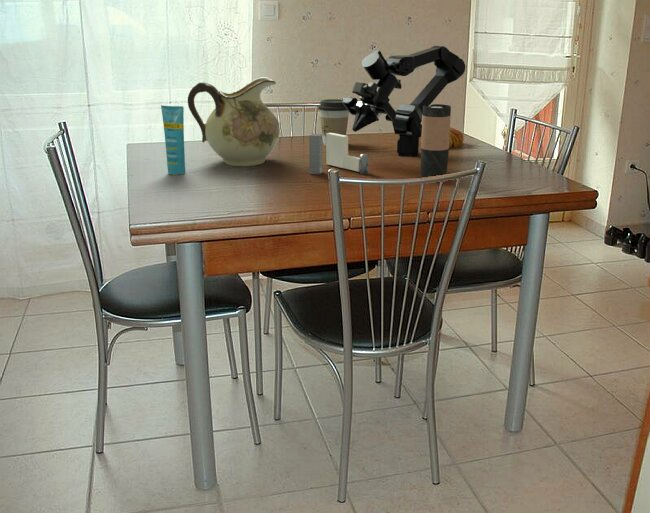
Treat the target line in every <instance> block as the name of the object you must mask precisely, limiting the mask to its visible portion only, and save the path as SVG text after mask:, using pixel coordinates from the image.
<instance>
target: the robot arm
mask: <svg viewBox="0 0 650 513" xmlns="http://www.w3.org/2000/svg"><path fill="white" fill-rule="evenodd" d="M431 63H433V65H434V66H435V67H436V68H435V75H434V76H433V77H432V78H431V80H430V81H429V82H428V83H427V84H426V86H424V88H422V90H421V91H420V92H419V93H418V94H417V96H416V97H415V98H414V99H413V101H412V102H411V103H410V104H407V103H401V104H400V105H399V107H398V108H397V109H396V110H395V109H394V108H393V105H392V104H391V103H390V100H391V99H390V96H391V94H392V92H393V91H394V89H399V90H401V89H402V87H403V86H402V83H401V82H402V80H401V79H398V78H397V77H396V76H399V77H407V76H409V75H410V74H412V73H413V72H414V71H415V70H416V69H417V68H418V67H422V66H425V65H427V64H431ZM361 66H362V68H363V69H364V71H365V72H366V73H367V75H368V76H369V77H370V78H371V80H376V81H375V82H371V81H370V82H369V83H365V82H360V81H355V82H354V85H353V87H352V91H351V93H352V94H356V95H358V96H359V98H356V97H352V96H346V97H344V98H343V99H342V100H343V102H342V103H343V105H344V106H345V107H346V109H347V110H348V111H349V115H352V116H354V121H353V124H352V131H353V132H358V131H360V130H362V129H364V128H365V127H367V126H369V125H370V124H373V123H375V122H378V121H379V120H380V118H379V117H380V116H382V115H384V114H385V116H384V117H385V120H386V122H391V123H392V124H391V125H392V128H393V131H394V135H398V138H397V139H396V153H397V155H398V156H400V157H401V156H405V157H406V156H408V157H410V156H412V157H414V156H416V157H418V156H419V155H420V153H419V150H420V146H419V145H420V144H419V143H420V138H421V135H422V117H423V106H424V105H425V106H426V107H429V106H431V105H432V103H433V102H434V101H435V100H436V98H438V96H439V95H440V94H441V92H442V91H443V90H444V89H445V88H446V87H447V86H448V85H449V84H450V83H453V82H455V81H457V80H458V79H460V78H461V77H462V76H463V75H464V73H465V72H466V63H465V61H464V60H463V59H462V58H461V57H459V56H458V55H457V54H455V53H453V52H451V51H450V50H449V49H448V48H447V47H446V46H444V45H433V46H431V47H428V48H426V49H423V50H420V51H416V52H413V53H411V54H403V55H402V54H401V55H400V54H399V55H398V54H397V55H390V56H389V57H387V59H385V57H384V56H383V53H382V51H381V50H374V51H373V52H372V53H369V54H368V55H366V56H364V58H363V59H362V61H361ZM358 99H359V100H360V101H359V100H358Z"/></svg>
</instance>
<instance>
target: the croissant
mask: <svg viewBox="0 0 650 513" xmlns="http://www.w3.org/2000/svg"><path fill="white" fill-rule="evenodd" d="M463 141H464V134H463V133H462V132H461V131H460V130H458V129H456V128H453V127H451V126H450V138H449V149H457V148H460V147H461V146H462V145H463V143H464V142H463Z"/></svg>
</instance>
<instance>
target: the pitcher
mask: <svg viewBox="0 0 650 513" xmlns="http://www.w3.org/2000/svg"><path fill="white" fill-rule="evenodd" d="M276 84H277V83H276V81H275V80H274V79H272V78H270V77H267V76H262V77H258V78H255V79H253V80H251V82H249V83H247V84H246V85H245V86H243V87H242V88H239V89H238V90H236V91H234V92H231V93H227V92H223V91H222V90H218V88H216V87H215V86H214V85H213V84H210V83H207V82H205V81H199V82H198V83H197V84H195V85H194V86H193V87H192V88H191V89H190V91H189V93H188V95H187V106H188V109H189V112H190V113H191V115H192V116H193V118H194V119H195V121H196V123H197V124H198V127H199V128H200V132H201V135H202V138H201V139H202V140H201V142H202V143H205V142H208V145H209V147H211V150H213V152H214V153H215V154H217V155H218V156H219V157H220V158H221V159H222V160H223V163H224V164H225V165H228V166H232V167H254V166H260V165H262V164H265V161H266V158H267V157H268V155H270V153H272V151H273V150H274V149H275V147H276V145H277V143H278V142H279V139H280V134H281V128H280V122H279V120H278V118H277V117H276V115H275V113H273V111H272V110H271V109H270V108H269V107H268V106H267V105H266V104H265V103H264V102H263V100H262V99H261V93H262V92H263V91H264V89H267V88H268V87H270V86H274V85H276ZM205 92H206V93H207V94H209V95H210V96H211V98H212V100H213V101H214V104H215V108H214V109H213V110H212V111H211V113H210V114H209V115H208V117H207V119H206V122H204V121H203V119H202V117H201V116H200V114H199V112H198V110H197V108H196V105H195V98H196V96H197V95H198V94H199V93H205Z"/></svg>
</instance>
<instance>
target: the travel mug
mask: <svg viewBox="0 0 650 513" xmlns="http://www.w3.org/2000/svg"><path fill="white" fill-rule="evenodd" d="M451 112H452V107H451V105H450V104H440V103H439V104H438V103H437V104H436V103H433V104H432V103H431V104H430V105H429V107H426V106H425V105H424V106H423V114H422V122H421V124H422V135H421V137H420V138H421V139H420V178H421V177H428V176H436V175H443V174H448V163H449V153H450V152H449V151H450V148H449V138H450V127H451V116H452V113H451Z"/></svg>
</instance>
